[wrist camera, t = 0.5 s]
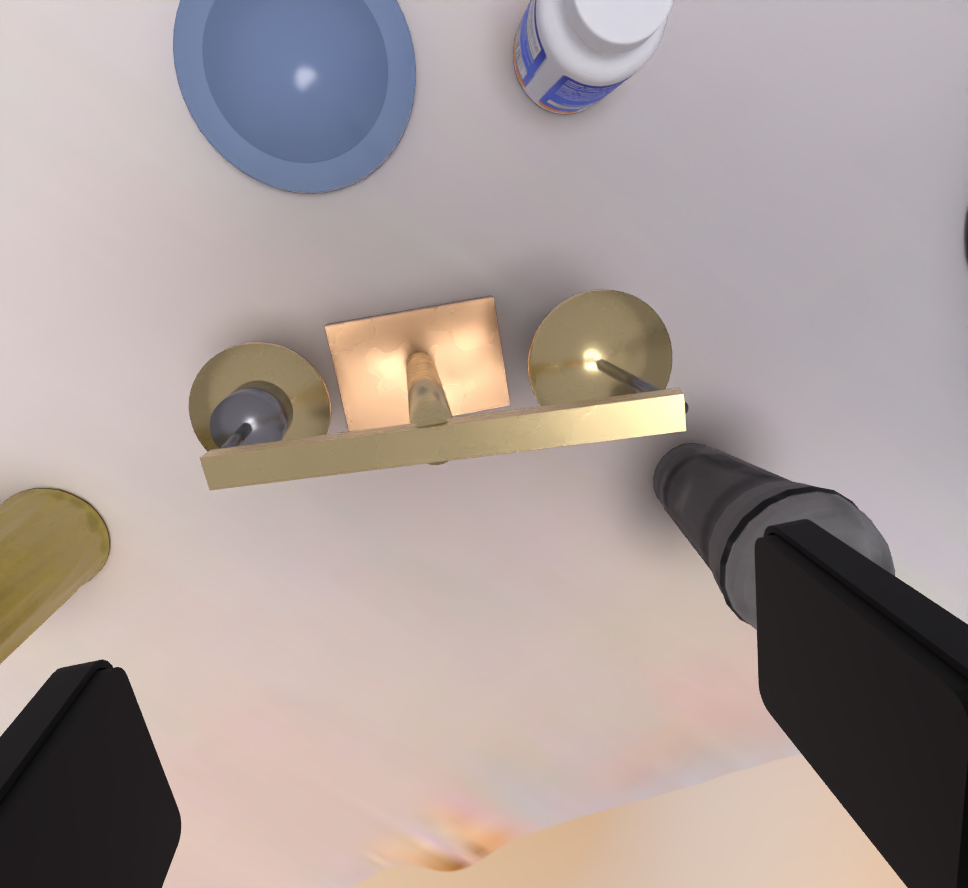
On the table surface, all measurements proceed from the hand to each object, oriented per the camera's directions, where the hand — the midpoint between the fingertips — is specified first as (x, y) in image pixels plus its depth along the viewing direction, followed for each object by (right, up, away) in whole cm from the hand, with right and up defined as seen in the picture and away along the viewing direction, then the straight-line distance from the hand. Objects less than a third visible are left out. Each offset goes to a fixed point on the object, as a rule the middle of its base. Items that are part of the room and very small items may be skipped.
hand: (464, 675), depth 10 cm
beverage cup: (+13, +1, +31) cm, 34 cm away
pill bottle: (+4, +23, +23) cm, 33 cm away
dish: (-9, +21, +22) cm, 32 cm away
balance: (-3, +8, +27) cm, 28 cm away
